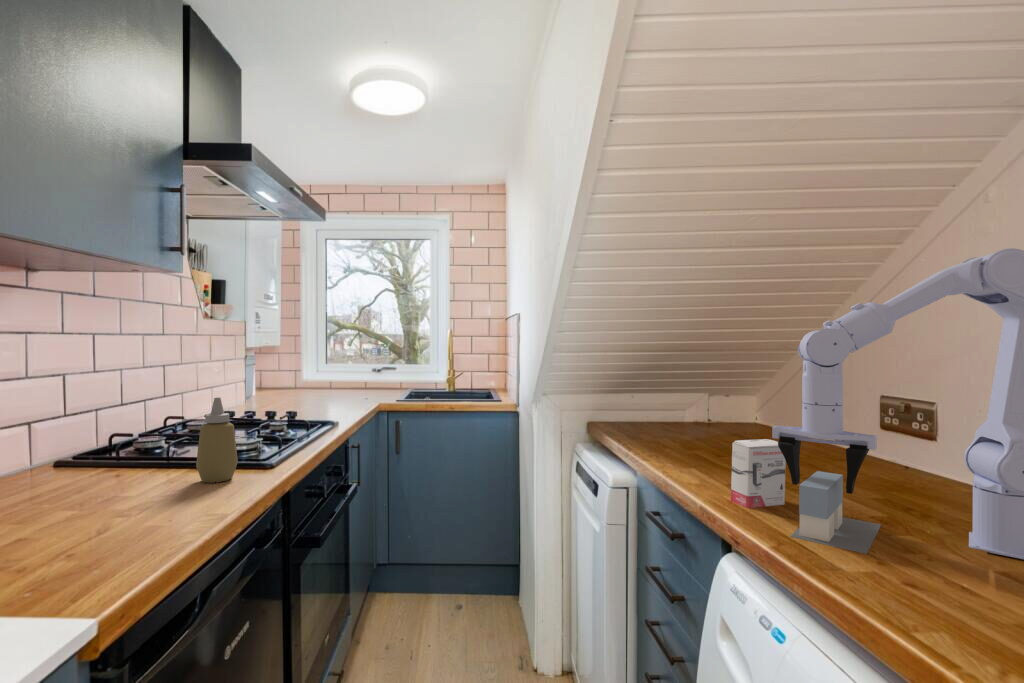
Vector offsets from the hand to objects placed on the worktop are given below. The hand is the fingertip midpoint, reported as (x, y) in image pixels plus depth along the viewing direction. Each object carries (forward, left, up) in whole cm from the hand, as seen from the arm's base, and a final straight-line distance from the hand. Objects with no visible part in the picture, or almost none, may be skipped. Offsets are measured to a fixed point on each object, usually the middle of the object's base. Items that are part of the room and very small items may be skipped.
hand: (822, 487), depth 85 cm
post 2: (0, -3, -7) cm, 8 cm away
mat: (-2, -1, -7) cm, 7 cm away
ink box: (+12, -8, -7) cm, 16 cm away
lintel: (0, 0, -3) cm, 3 cm away
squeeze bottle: (+106, +53, -7) cm, 119 cm away
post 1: (0, +4, -7) cm, 8 cm away
